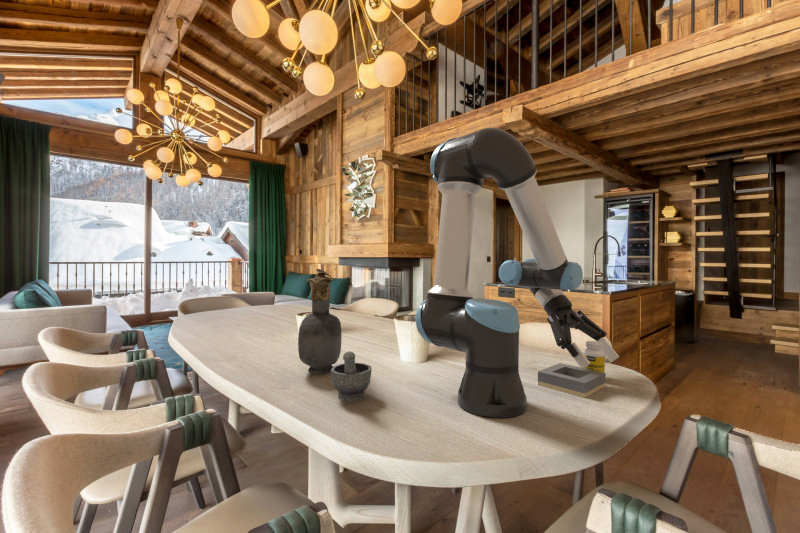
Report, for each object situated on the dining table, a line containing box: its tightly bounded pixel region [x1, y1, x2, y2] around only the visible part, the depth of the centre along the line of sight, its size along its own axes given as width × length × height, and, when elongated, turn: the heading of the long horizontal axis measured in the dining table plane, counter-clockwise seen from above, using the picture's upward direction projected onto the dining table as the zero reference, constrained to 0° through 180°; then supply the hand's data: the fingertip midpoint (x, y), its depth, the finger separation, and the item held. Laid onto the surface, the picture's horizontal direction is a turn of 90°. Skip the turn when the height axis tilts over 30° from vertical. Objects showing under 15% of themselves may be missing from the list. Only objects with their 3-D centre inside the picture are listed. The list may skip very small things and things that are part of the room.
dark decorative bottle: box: [297, 268, 342, 376], centre depth 112 cm, size 11×19×30 cm, turn 0°
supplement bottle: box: [582, 340, 606, 373], centre depth 104 cm, size 5×5×10 cm
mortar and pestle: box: [330, 351, 372, 403], centre depth 89 cm, size 11×9×12 cm
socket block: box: [537, 362, 607, 399], centre depth 97 cm, size 12×12×4 cm
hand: (601, 362), depth 102 cm, fingers open, 13 cm apart
